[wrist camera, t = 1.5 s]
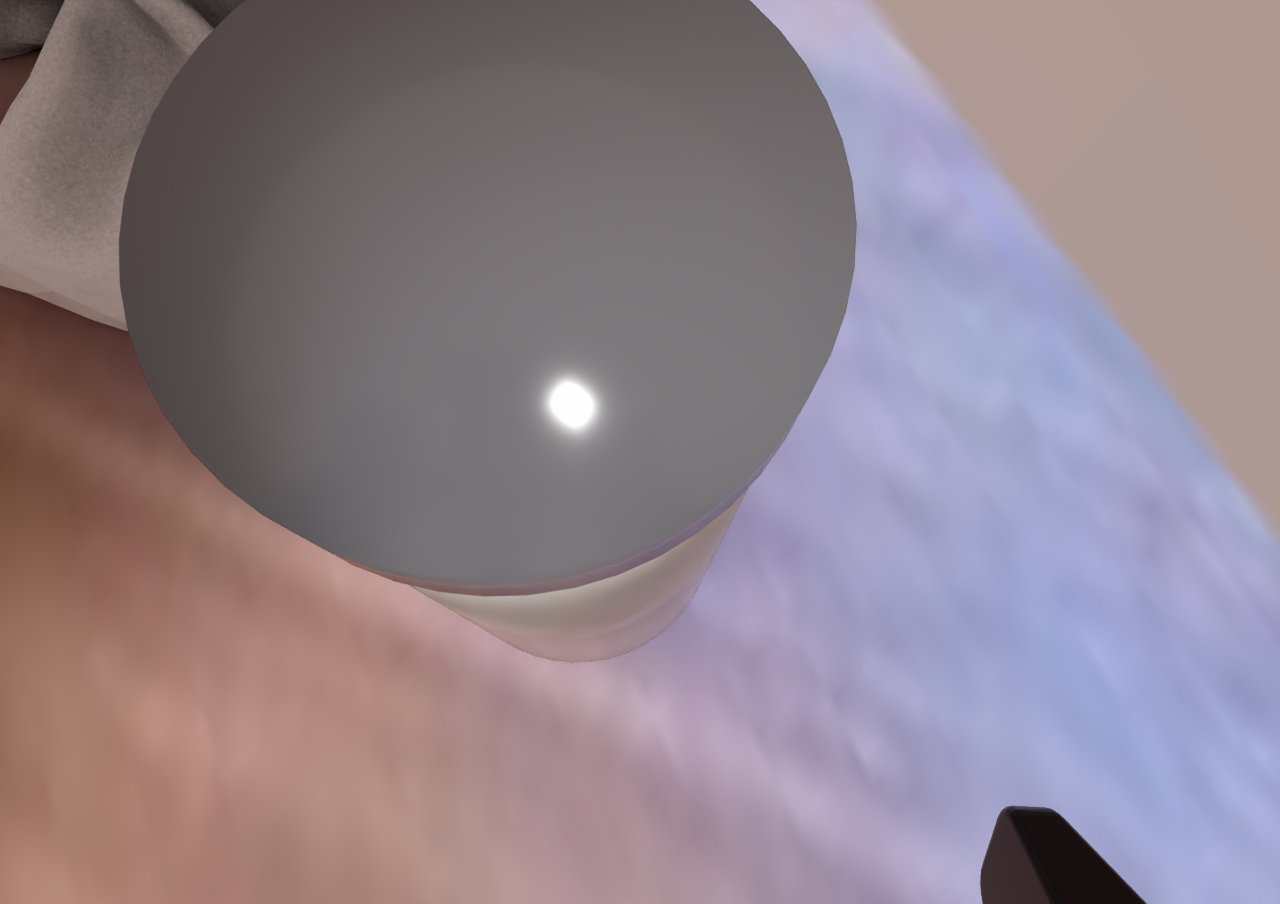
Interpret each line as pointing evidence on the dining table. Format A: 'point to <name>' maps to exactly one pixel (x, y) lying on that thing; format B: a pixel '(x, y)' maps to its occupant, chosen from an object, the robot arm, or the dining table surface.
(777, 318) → the shaker
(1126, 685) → the dining table surface
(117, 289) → the cloth
